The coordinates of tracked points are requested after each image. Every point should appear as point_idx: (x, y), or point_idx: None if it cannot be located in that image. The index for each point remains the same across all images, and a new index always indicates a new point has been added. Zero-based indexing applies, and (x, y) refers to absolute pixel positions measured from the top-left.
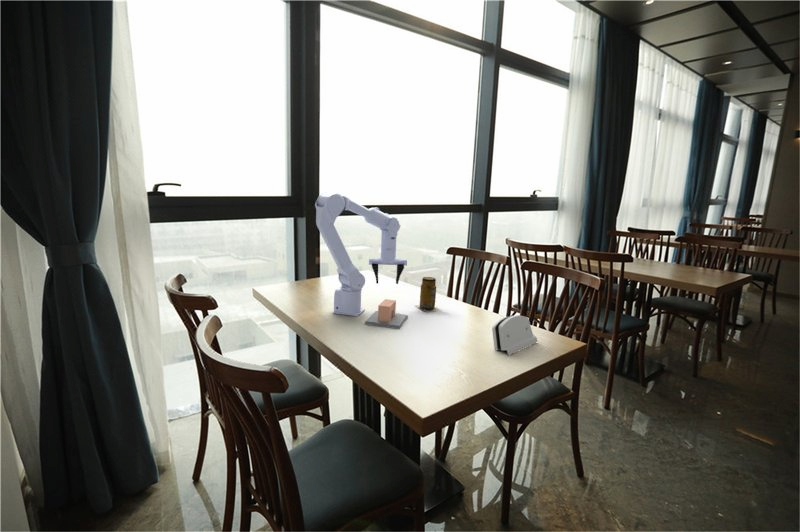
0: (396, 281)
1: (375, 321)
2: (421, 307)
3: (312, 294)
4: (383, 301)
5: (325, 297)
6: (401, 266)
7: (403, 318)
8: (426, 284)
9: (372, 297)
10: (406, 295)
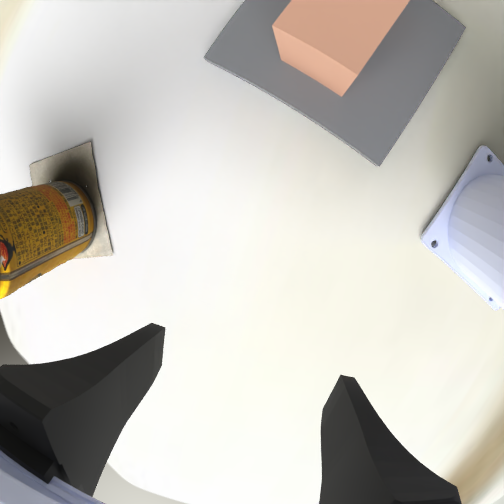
0: (155, 336)
1: (418, 2)
2: (90, 207)
3: (484, 453)
4: (386, 22)
5: (472, 430)
6: (7, 412)
7: (249, 5)
8: None
9: (292, 421)
10: None
